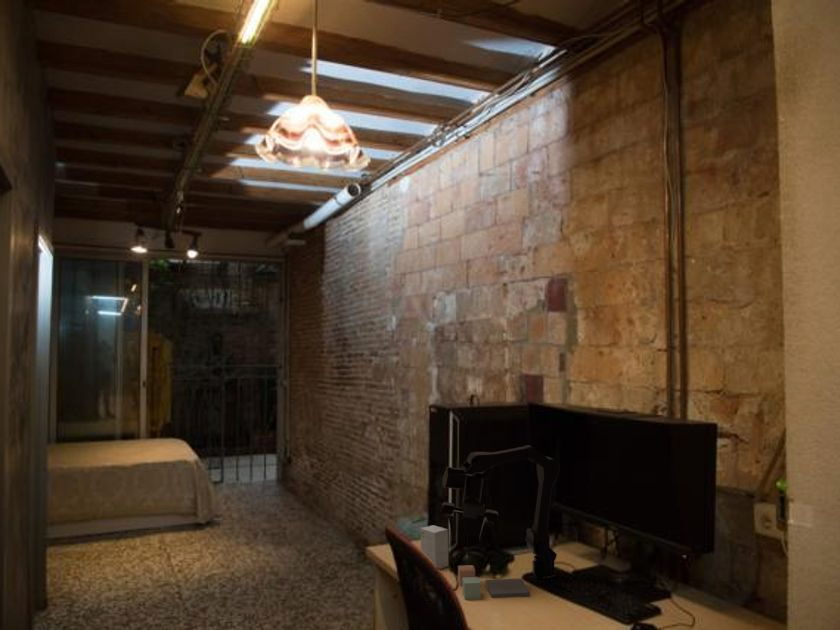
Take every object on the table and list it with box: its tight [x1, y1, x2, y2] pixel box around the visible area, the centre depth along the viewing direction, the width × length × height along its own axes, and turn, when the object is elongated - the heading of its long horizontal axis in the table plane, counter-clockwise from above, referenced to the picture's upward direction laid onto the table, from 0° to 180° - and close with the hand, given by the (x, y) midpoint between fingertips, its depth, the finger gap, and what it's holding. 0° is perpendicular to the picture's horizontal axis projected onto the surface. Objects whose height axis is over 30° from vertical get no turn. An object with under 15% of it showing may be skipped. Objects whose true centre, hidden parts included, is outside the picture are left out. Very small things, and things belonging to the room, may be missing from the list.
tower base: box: [484, 577, 531, 599], centre depth 207 cm, size 12×12×1 cm
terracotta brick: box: [457, 564, 476, 587], centre depth 213 cm, size 5×5×5 cm
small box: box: [420, 524, 449, 570], centre depth 231 cm, size 8×6×13 cm
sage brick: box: [462, 576, 482, 601], centre depth 202 cm, size 5×5×5 cm
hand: (465, 538), depth 214 cm, fingers open, 9 cm apart
